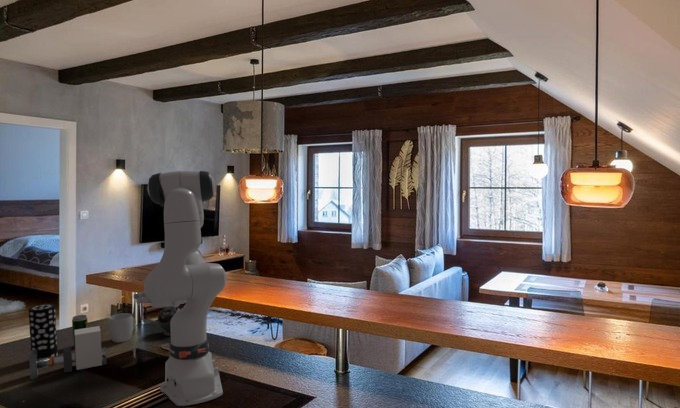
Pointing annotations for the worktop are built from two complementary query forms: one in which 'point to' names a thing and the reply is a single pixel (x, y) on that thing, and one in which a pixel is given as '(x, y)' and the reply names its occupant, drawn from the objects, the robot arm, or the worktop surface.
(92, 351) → the notched block
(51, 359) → the pipe
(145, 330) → the worktop surface
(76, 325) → the beer can
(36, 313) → the white-spotted black cylinder
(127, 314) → the mug
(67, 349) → the charcoal grey box
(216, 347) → the worktop surface
